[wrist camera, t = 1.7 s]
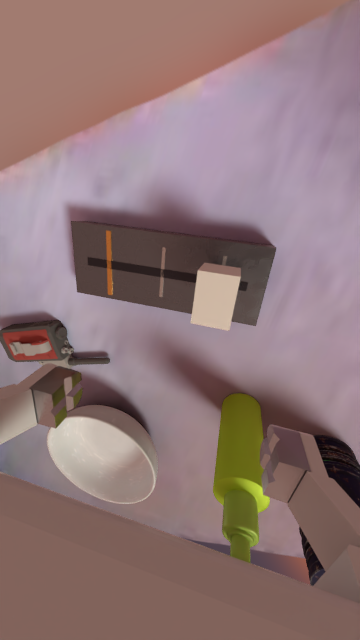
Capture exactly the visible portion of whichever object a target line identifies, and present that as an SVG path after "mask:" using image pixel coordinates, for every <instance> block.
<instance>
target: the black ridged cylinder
mask: <svg viewBox="0 0 360 640" xmlns="http://www.w3.org/2000/svg"><path fill="white" fill-rule="evenodd" d="M312 436H313V437H314V439H315V441H316V444H317V447H318V449H319V452H320V455H321V458H322V460H323V463H324V466H325V469H326V471H327V474H328V477H329V478H332V479H334V480H335V481H336V482H337V484H338V485H339V486H340V487H341V488H342V489H343V490H344V491H345V492H346V493H347V495H348V496H349V497H350V498H351V499H352V500H353V501H354V502H355V503H356V504H357V506H358V507H359V508H360V465H359V463H358V461H357V460H356V457H355V455H354V453H353V451H352V449H351V448H350V447H349V446H348V445H347V444H345V443H344V442H342V441H340V440H338V439H336V438H333V437H329V436H323V435H312ZM299 530H300V534H301V537H302V546H303V551H304V556H305V558H306V563H307V567H308V570H309V578H310V584H311V586H314V584H315V583H316V582H317V581H318V580H319V579H320V578H321V576H322V575H323V574H324V573H325V572H326V571H325V570H324V568H323V566H322V564H321V563H320V561H319V559H318V557H317V556H316V554H315V552H314V550H313V549H312V547H311V545H310V543H309V542H308V540H307V538H306V536H305V535H304V533H303V531H302V529H301V528H300V527H299Z"/></svg>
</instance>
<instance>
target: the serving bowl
mask: <svg viewBox="0 0 360 640" xmlns="http://www.w3.org/2000/svg"><path fill="white" fill-rule="evenodd" d="M47 445H48V449H49V453H50V455H51V457H52V459H53V461H54V463H55V464H56V466H57V467H58V468H59V470H60V471H61V472H62V473H63V474H64V475H65V476H66V477H67V478H68V479H69V480H70V481H71V482H72V483H74V484H75V485H76V486H77V487H79V488H80V489H82V490H84V491H85V492H87V493H89V494H91V495H93V496H95V497H97V498H100V499H102V500H106V501H109V502H114V503H120V504H131V503H136V502H140V501H142V500H144V499H146V498H147V497H148V496H149V495H150V494H151V493H152V491H153V489H154V487H155V483H156V478H157V471H158V459H157V453H156V450H155V446H154V444H153V441H152V440H151V438H150V436H149V434H148V433H147V431H146V430H145V429H144V428H143V427H142V425H141V424H140V423H138V422H137V421H136V420H135V419H134V418H132V417H131V416H129V415H128V414H126V413H124V412H122V411H120V410H118V409H115V408H112V407H109V406H103V405H87V406H82V407H79V408H76V409H74V410H71V411H70V412H68V413H67V417H66V418H65V419H64V420H63V421H62V423H61V424H60V425H59V426H58V427H57V428H56V429H55V428H52V427H50V429H49V432H48V435H47Z"/></svg>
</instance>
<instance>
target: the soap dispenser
mask: <svg viewBox="0 0 360 640" xmlns="http://www.w3.org/2000/svg"><path fill="white" fill-rule="evenodd" d="M263 439H264V438H263V428H262V418H261V408H260V405H259V403H258V402H257V401H256V400H255V399H254V398H253V397H251V396H249V395H246V394H241V393H237V394H232V395H229V396H228V397H226V398H225V400H224V401H223V404H222V411H221V421H220V430H219V439H218V449H217V458H216V467H215V476H214V486H213V493H214V496H215V497H216V499H217V500H218V501H219V502H220V503H221V504H222V505H223V506H224V509H223V525H222V532H223V535H224V537H225V538H226V539H227V540H228V541H229V542H230V543H231V550H230V556H232V557H235V558H237V559H240V560H243V561H245V562H248V563H250V547H252V546H255V545H256V544H257V543H258V542H259V527H258V513H259V512H262V511H264V510H265V509H266V508H267V507H268V505H269V502H270V499H269V497H268V496H265V495H263V488H262V478H261V476H262V473H263V471H264V469H263V468H262V466H261V465H260V448H261V444H262V441H263Z"/></svg>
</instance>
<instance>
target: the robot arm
mask: <svg viewBox="0 0 360 640" xmlns="http://www.w3.org/2000/svg"><path fill="white" fill-rule="evenodd" d="M81 380H82V377H81V373H80V372H78V371H75V370H72V369H68V368H65V367H62V366H57V365H54V364H51V363H48V364H45V365H44V366H42V367H41V368H39V369H38V370H37V371H35V372H34V373H33V374H31V375H30V376H29V377H27V378H26V379H24V380H23V381H22V382H20V383H19V384H18V385H15V384H13V385H9V386H6V387H3V388H0V444H2V443H4V442H6V441H8V440H9V439H11V438H13V437H15V436H17V435H19V434H21V433H23V432H24V431H26V430H28V429H30V428H32V427H34V426H36V425H37V423H38V424H41V425H45V426H48V427H52V428H55V429H56V428H57V427H58V426H59V425H60V424H61V423H62V421H63V420H64V419H65V418H66V417H67V411H69V410H71V409H74V408H75V407H76V405H77V404H78V403H79V401H80V399H81V396H82V386H81V385H80V383H79V382H80V381H81ZM260 465H261V466H262V468H263V469H264V471H263V473H262V476H261V478H262V488H263V495H265V496H268V497H271V498H273V499H276V500H279V501H282V502H285V503H288V507H289V508H290V510H291V512H292V514H293V515H294V517H295V519H296V521H297V522H298V524H299V526H300V528H301V529H302V531H303V533H304V535H305V536H306V538H307V540H308V542H309V543H310V545H311V547H312V549H313V550H314V552H315V554H316V556H317V557H318V559H319V561H320V563H321V564H322V566H323V568H324V570H325V571H326V572H325V573H324V574H323V575H322V576H321V578H320V579H319V580H318V581H317V582H316V583H315V584H314V586H311V585H308V584H306V583H303V582H300V581H297V580H294V579H292V578H289V577H286V576H284V575H281V574H278V573H276V572H273V571H270V570H267V569H265V568H262V567H259V566H256V565H254V564H251V563H248V562H245V561H243V560H240V559H237V558H235V557H232V556H229V555H226V554H224V553H221V552H218V551H215V550H213V549H210V548H207V547H204V546H202V545H199V544H196V543H194V542H191V541H188V540H185V539H183V538H180V537H177V536H175V535H172V534H169V533H166V532H164V531H161V530H158V529H156V528H153V527H150V526H147V525H145V524H142V523H139V522H136V521H134V520H131V519H128V518H126V517H123V516H120V515H117V514H115V513H112V512H109V511H106V510H104V509H101V508H98V507H95V506H93V505H90V504H87V503H84V502H82V501H79V500H76V499H74V498H71V497H68V496H65V495H63V494H60V493H57V492H54V491H52V490H49V489H46V488H43V487H41V486H38V485H35V484H32V483H30V482H27V481H24V480H22V479H19V478H16V477H13V476H11V475H8V474H5V473H2V472H0V640H360V508H359V507H358V506H357V504H356V503H355V502H354V501H353V500H352V499H351V498H350V497H349V496H348V495H347V493H346V492H345V491H344V490H343V489H342V488H341V487H340V486H339V485H338V484H337V482H336V481H335V480H334V479H332V478H329V477H328V474H327V471H326V469H325V466H324V463H323V460H322V458H321V455H320V452H319V449H318V447H317V444H316V441H315V439H314V437H313V436H312V435H311V434H307V433H303V432H299V431H295V430H291V429H288V428H284V427H280V426H276V425H273V424H270V425H269V426H268V429H267V437H266V438H264V439H263V441H262V444H261V448H260Z"/></svg>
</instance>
